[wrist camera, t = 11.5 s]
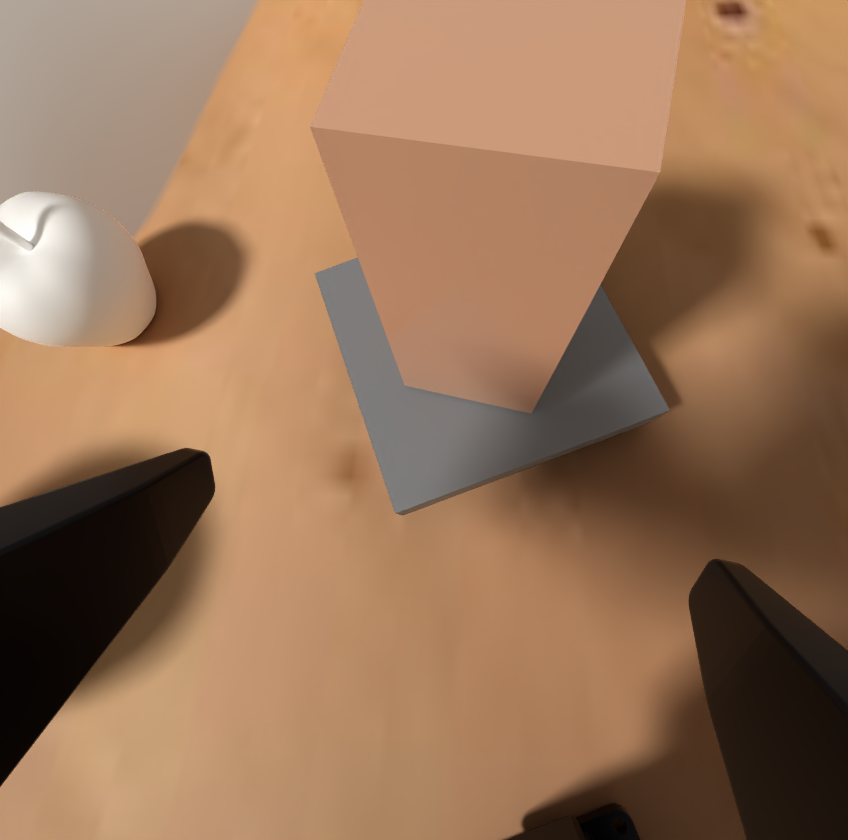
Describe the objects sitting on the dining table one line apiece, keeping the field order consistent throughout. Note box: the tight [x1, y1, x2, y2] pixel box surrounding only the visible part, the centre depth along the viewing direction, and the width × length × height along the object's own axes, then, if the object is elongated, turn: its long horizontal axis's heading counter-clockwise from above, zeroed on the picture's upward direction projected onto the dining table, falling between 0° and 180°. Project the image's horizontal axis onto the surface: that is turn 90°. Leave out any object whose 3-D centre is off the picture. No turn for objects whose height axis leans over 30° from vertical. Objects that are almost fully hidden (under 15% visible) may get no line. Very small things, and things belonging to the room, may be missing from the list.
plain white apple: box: [0, 192, 156, 347], centre depth 20 cm, size 7×7×8 cm
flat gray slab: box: [315, 258, 670, 515], centre depth 20 cm, size 12×12×3 cm
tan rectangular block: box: [310, 0, 686, 414], centre depth 13 cm, size 6×6×12 cm
